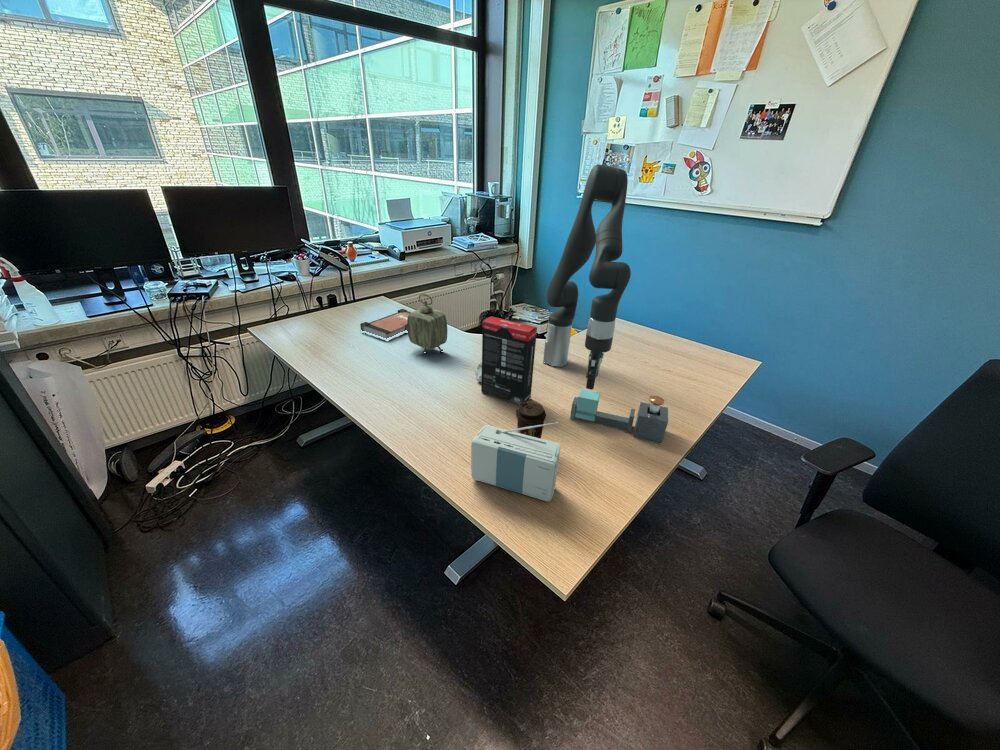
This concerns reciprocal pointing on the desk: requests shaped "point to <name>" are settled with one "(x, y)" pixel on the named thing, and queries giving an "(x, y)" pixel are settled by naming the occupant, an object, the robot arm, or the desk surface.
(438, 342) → the tabletop clock
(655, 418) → the grey cube with hole
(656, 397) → the plunger
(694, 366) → the desk surface
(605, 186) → the robot arm
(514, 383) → the graphics card box
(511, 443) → the stereo radio cassette player
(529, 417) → the coffee cup
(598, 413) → the rail
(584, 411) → the carriage
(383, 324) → the book
